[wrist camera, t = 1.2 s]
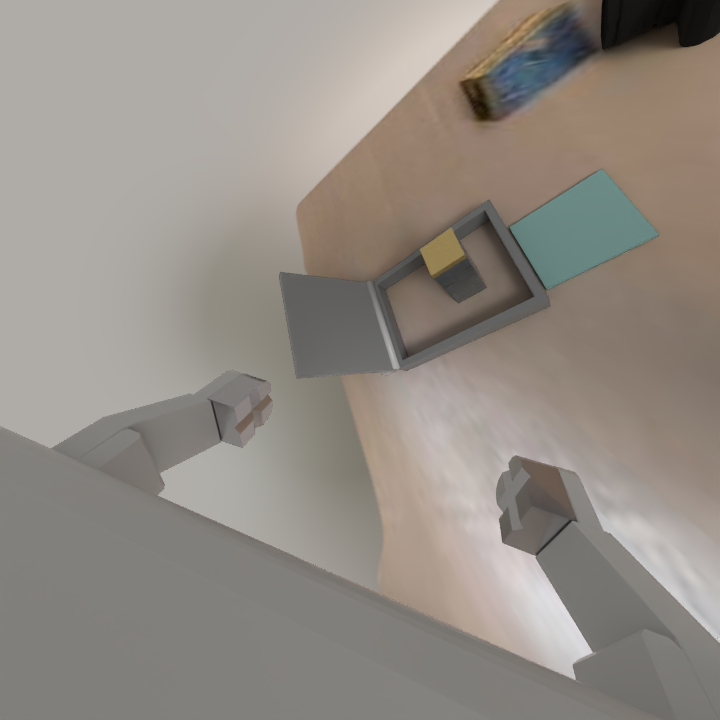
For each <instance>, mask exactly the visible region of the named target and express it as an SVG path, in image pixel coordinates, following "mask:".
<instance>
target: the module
mask: <svg viewBox="0 0 720 720" xmlns="http://www.w3.org/2000/svg"><path fill="white" fill-rule="evenodd" d="M420 251H421V253H422V256H423V258H424V260H425V263H426V265H427V268H428V270H429V272H430V275H431V276H432V277H433V278H434V279H435V280H436V281H437V282H438V283H439V284H440V285H441V286H442V287H443V288H444V289H445V290H446V291H447V292H448V293H449V294H450V295H451V296H452V297H453V298H454V299H455V300H456V301H457V302H458V303H460V302H462V301H464V300H466V299H467V298H469V297H471V296H473V295H475V294H477V293H479V292H480V291H482V290H484V289H486V288H487V287H486V285H485V283H484V281H483V279H482V277H481V275H480V273H479V271H478V269H477V267H476V266H475V264H474V262H473V261H472V259H471V258H470V256H469V254H468V253H467V251H466V250H465V248H464V247H463V245H462V244H461V242H460V240H459V239H458V237H457V236H456V234H455V233H454V231H453V230H452V228H449V229H448V230H446V231H445V232H444V233H442V234H441V235H439V236H438V237H437V238H435V239H434V240H432V241H431V242H430V243H428V244H427V245H425V246H424V247H422V248H421V249H420Z"/></svg>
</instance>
